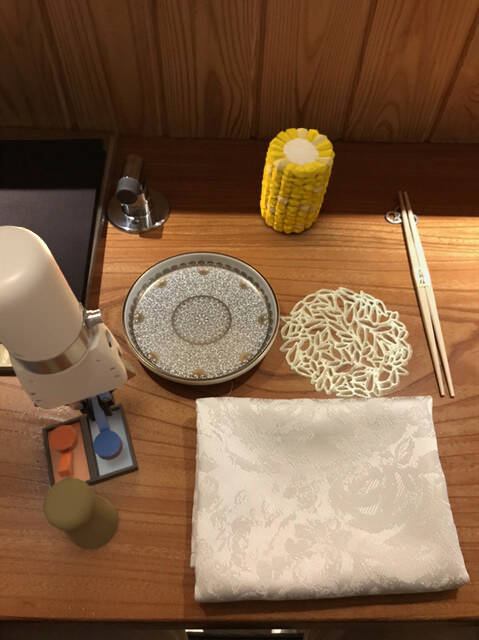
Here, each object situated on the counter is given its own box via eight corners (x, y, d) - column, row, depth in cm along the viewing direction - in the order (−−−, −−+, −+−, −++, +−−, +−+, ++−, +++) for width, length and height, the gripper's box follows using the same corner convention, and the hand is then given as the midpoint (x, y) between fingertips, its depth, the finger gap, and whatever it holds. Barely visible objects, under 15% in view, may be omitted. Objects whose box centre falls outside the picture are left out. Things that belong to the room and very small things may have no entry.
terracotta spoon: (85, 478, 68) (77, 470, 65) (59, 487, 68) (50, 479, 65) (76, 425, 72) (67, 415, 69) (51, 433, 72) (41, 423, 68)
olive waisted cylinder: (111, 488, 68) (86, 461, 59) (124, 537, 65) (100, 517, 56) (62, 507, 67) (29, 483, 58) (73, 557, 64) (40, 541, 55)
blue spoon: (88, 409, 69) (79, 398, 66) (113, 401, 70) (106, 390, 66) (99, 464, 66) (90, 454, 62) (125, 455, 66) (118, 445, 63)
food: (272, 193, 94) (328, 215, 92) (241, 231, 86) (300, 256, 84) (288, 107, 82) (352, 130, 80) (253, 143, 75) (323, 169, 73)
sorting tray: (54, 497, 68) (51, 495, 67) (44, 431, 72) (41, 428, 71) (138, 469, 69) (136, 466, 68) (123, 406, 74) (121, 403, 73)
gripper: (121, 280, 56) (154, 362, 72) (-37, 326, 54) (33, 400, 70) (138, 343, 52) (169, 415, 68) (-31, 395, 50) (42, 456, 66)
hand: (100, 407), depth 69 cm, fingers closed on blue spoon, 1 cm apart
